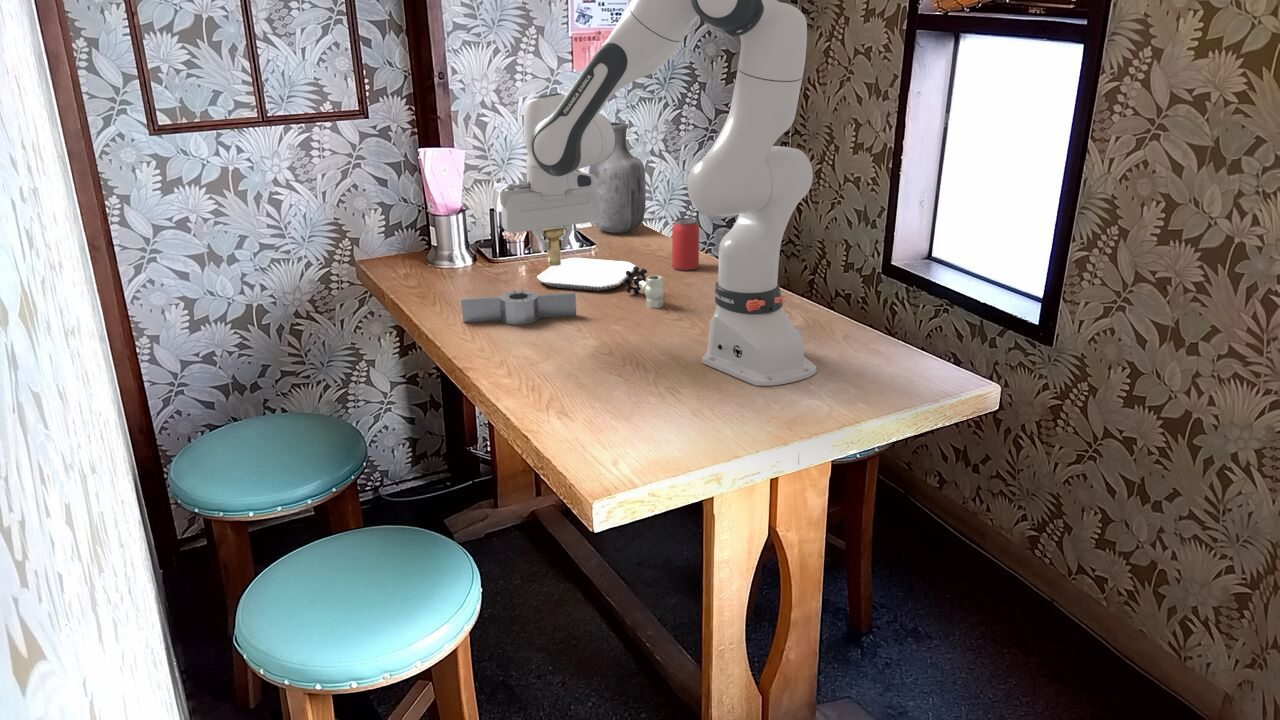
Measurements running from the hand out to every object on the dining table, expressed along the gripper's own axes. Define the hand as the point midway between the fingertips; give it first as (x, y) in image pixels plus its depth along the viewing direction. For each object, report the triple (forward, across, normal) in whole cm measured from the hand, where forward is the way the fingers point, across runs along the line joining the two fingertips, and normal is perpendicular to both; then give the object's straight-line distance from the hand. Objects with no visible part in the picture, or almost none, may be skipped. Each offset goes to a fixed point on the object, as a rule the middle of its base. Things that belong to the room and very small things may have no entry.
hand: (553, 248), depth 190 cm
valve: (+18, +25, +8) cm, 32 cm away
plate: (+17, +21, +30) cm, 40 cm away
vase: (+16, +48, +67) cm, 84 cm away
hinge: (+17, -4, +11) cm, 21 cm away
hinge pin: (+3, 0, 0) cm, 3 cm away
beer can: (+17, +46, +26) cm, 55 cm away
